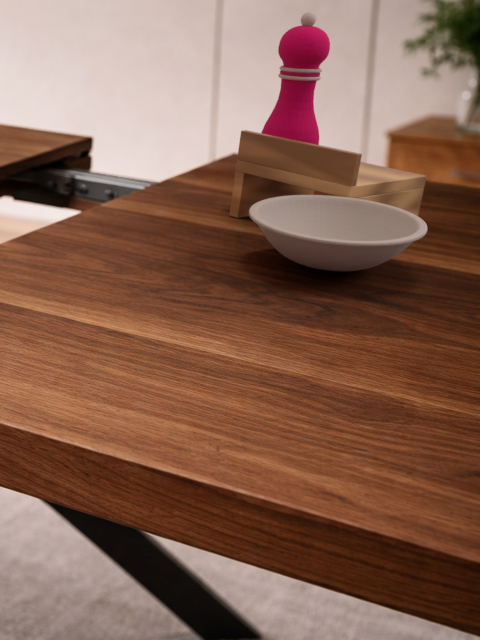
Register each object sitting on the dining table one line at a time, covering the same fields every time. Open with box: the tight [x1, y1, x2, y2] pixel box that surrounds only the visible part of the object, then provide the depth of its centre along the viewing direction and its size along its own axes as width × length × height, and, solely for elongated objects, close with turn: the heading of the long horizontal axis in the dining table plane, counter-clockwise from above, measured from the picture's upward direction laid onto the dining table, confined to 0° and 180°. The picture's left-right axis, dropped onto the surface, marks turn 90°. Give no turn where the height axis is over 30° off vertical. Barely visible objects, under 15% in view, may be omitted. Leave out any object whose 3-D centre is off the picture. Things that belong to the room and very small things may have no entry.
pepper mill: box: [260, 11, 331, 145], centre depth 119 cm, size 7×7×20 cm
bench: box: [229, 129, 428, 219], centre depth 98 cm, size 12×14×9 cm
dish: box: [248, 194, 428, 272], centre depth 83 cm, size 18×14×5 cm
